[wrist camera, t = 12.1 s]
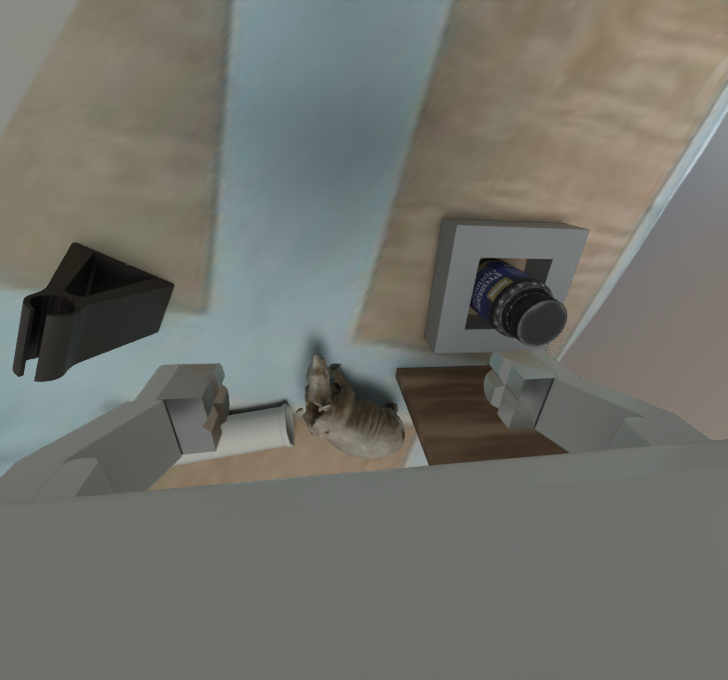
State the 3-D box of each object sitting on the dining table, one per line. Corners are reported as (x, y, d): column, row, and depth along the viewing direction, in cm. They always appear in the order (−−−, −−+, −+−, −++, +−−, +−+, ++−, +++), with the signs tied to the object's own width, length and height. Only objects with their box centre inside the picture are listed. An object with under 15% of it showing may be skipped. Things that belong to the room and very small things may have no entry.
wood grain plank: (400, 337, 41) (1133, 1826, 4) (534, 335, 43) (1706, 1258, 7) (395, 377, 43) (813, 1482, 7) (521, 373, 46) (1304, 1171, 10)
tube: (94, 489, 41) (295, 454, 42) (62, 473, 37) (284, 434, 38) (110, 448, 44) (294, 417, 46) (82, 430, 40) (285, 396, 42)
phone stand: (63, 294, 33) (-53, 356, 23) (75, 241, 31) (-47, 282, 20) (158, 330, 36) (95, 399, 26) (175, 284, 34) (114, 339, 24)
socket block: (442, 218, 34) (457, 225, 31) (563, 223, 36) (590, 229, 33) (424, 337, 41) (434, 353, 37) (527, 335, 43) (546, 350, 39)
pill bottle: (471, 253, 37) (528, 285, 27) (518, 262, 38) (588, 296, 28) (453, 304, 39) (499, 350, 30) (498, 311, 41) (555, 357, 31)
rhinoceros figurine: (376, 459, 47) (347, 510, 32) (315, 386, 49) (261, 402, 34) (417, 423, 45) (406, 460, 31) (352, 350, 48) (313, 351, 33)
